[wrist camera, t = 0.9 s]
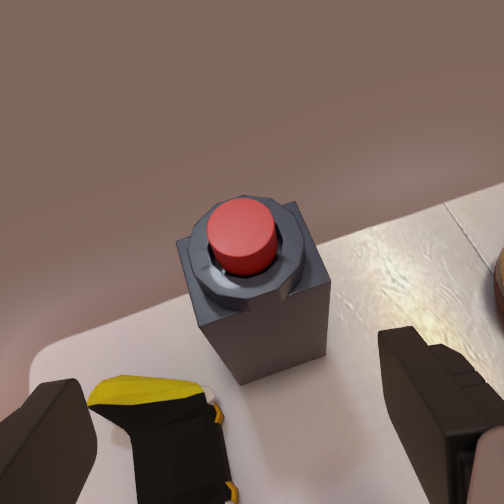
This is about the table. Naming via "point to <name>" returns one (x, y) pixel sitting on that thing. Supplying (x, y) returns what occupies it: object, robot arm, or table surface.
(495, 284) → the vase
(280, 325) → the button pillar
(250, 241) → the button
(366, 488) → the table surface
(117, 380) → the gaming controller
